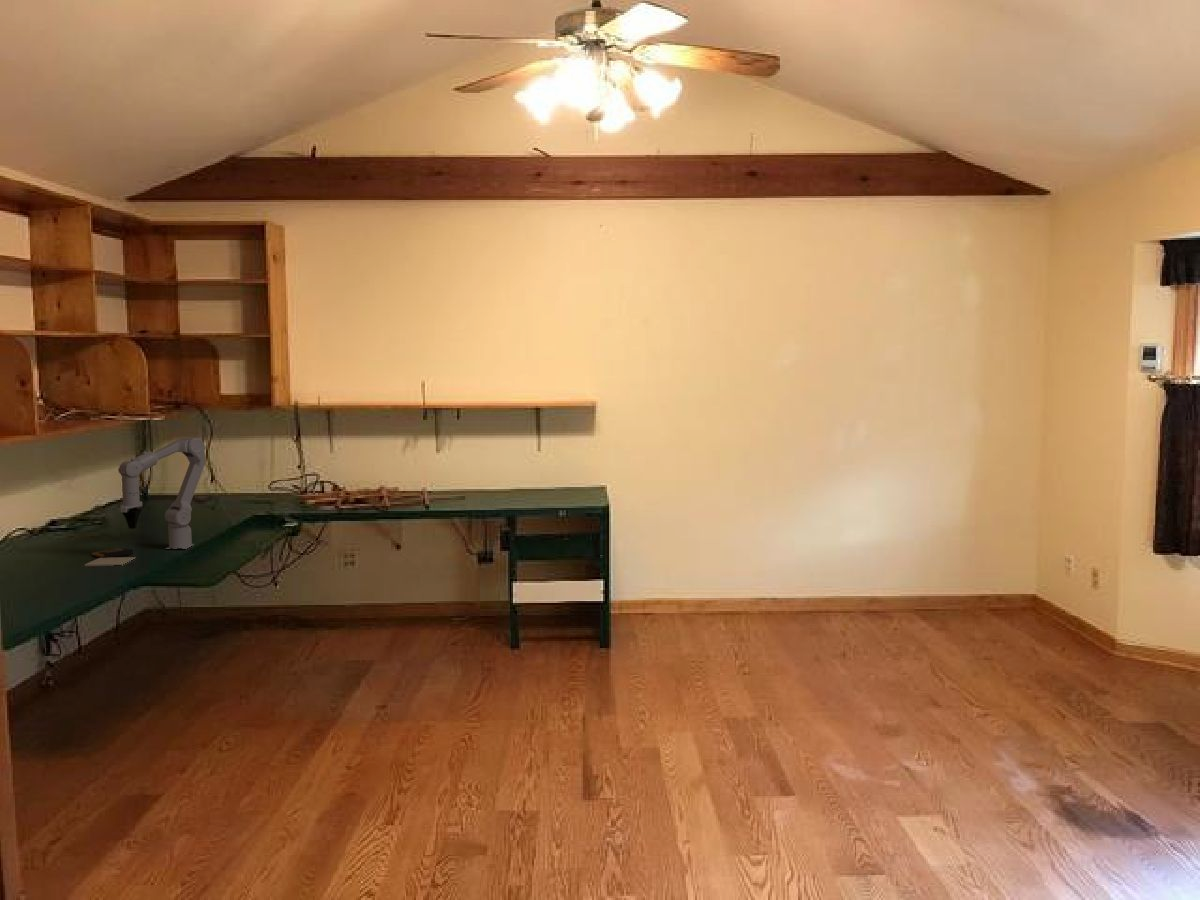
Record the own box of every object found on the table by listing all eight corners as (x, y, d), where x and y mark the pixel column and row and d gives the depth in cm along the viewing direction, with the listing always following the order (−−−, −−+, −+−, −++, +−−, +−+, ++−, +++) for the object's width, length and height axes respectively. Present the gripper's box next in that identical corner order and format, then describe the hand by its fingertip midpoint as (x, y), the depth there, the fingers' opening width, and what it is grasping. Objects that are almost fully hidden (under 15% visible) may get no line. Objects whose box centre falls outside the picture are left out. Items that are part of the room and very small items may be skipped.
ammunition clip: (104, 553, 355) (89, 551, 363) (104, 558, 355) (89, 556, 363) (133, 549, 364) (117, 547, 371) (133, 553, 364) (118, 552, 371)
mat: (100, 559, 356) (100, 557, 356) (135, 558, 357) (135, 557, 357) (84, 566, 344) (84, 564, 344) (121, 565, 345) (121, 564, 345)
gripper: (128, 490, 368) (130, 525, 369) (111, 495, 353) (113, 531, 355) (147, 490, 368) (148, 524, 369) (130, 495, 354) (132, 531, 355)
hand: (132, 528), depth 362 cm, fingers closed
